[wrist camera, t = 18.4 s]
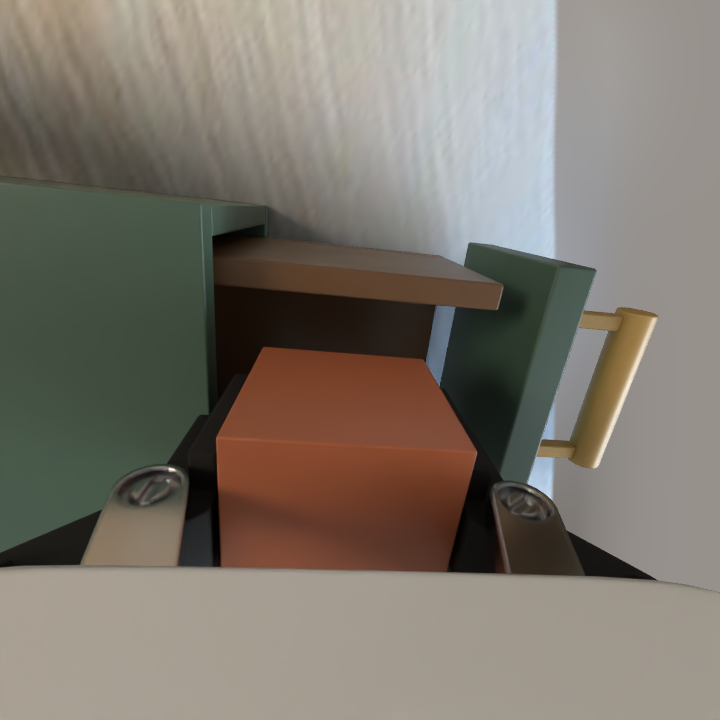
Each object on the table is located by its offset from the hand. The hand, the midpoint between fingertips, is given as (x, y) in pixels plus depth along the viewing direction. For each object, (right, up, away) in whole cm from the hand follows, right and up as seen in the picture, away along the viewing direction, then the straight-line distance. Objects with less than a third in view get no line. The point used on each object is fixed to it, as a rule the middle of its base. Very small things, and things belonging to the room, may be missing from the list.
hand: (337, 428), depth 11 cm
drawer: (+2, +3, +8) cm, 9 cm away
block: (0, 0, 0) cm, 0 cm away
